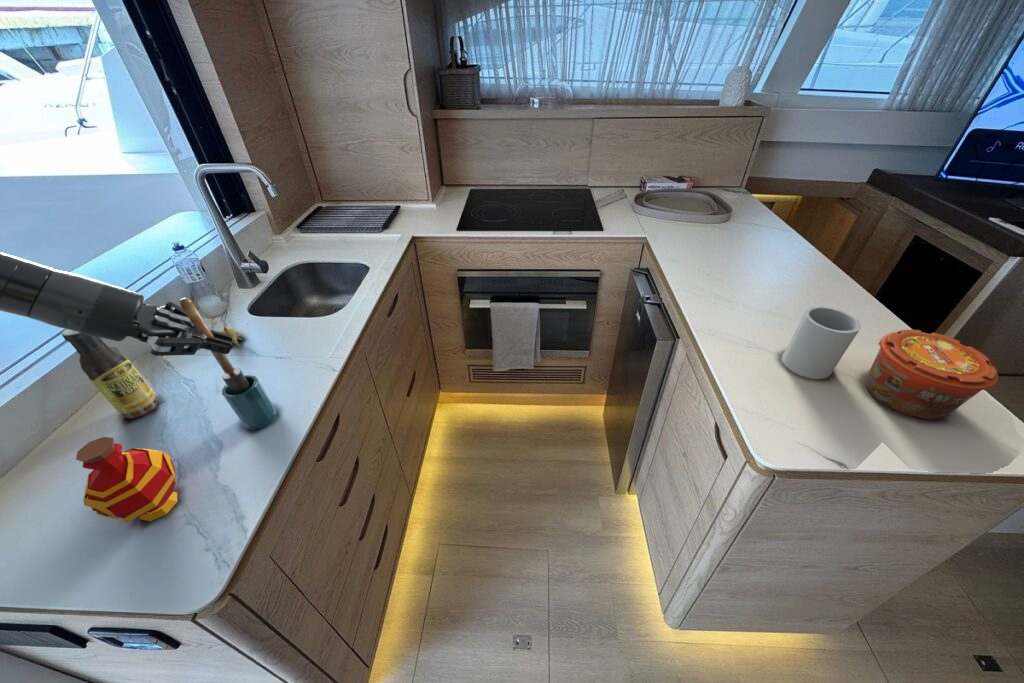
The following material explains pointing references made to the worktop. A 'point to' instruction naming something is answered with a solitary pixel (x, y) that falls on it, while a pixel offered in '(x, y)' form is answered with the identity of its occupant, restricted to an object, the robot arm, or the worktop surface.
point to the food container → (927, 374)
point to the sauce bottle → (113, 375)
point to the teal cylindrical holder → (251, 405)
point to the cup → (820, 342)
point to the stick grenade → (231, 374)
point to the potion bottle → (127, 481)
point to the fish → (231, 332)
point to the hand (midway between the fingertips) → (230, 345)
